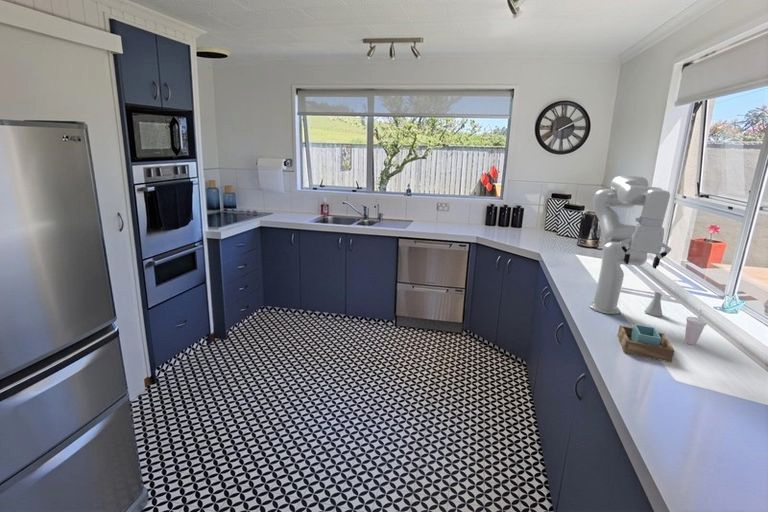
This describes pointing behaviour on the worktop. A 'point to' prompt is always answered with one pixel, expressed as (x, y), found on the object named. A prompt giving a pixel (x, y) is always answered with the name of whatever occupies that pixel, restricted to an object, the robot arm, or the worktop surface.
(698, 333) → the smoothie
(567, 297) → the worktop surface
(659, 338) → the small crate
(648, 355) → the big crate
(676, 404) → the worktop surface
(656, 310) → the flask
